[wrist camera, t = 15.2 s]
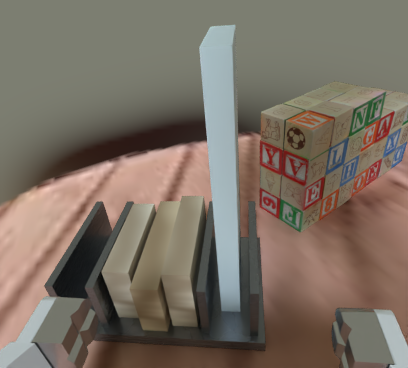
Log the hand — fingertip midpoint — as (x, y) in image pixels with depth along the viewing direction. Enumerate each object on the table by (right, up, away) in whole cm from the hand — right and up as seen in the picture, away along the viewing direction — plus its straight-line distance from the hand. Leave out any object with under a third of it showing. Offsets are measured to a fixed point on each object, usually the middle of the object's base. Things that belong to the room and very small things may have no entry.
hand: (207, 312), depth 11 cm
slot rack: (-3, -5, +19) cm, 20 cm away
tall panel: (+2, -4, +17) cm, 18 cm away
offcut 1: (-6, -4, +19) cm, 20 cm away
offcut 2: (-3, -4, +18) cm, 19 cm away
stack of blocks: (+17, +4, +30) cm, 35 cm away
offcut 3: (-1, -4, +18) cm, 19 cm away
